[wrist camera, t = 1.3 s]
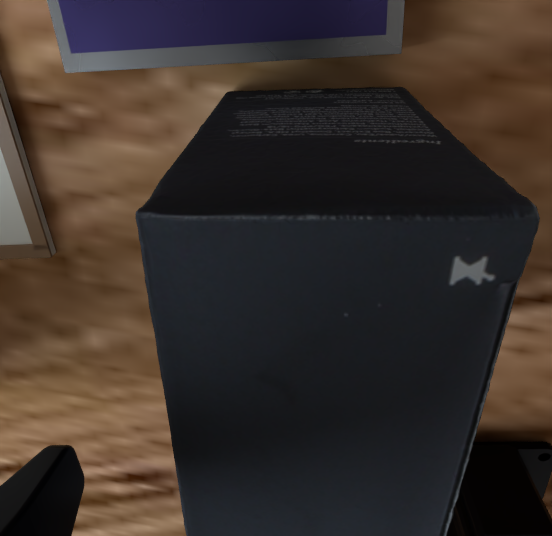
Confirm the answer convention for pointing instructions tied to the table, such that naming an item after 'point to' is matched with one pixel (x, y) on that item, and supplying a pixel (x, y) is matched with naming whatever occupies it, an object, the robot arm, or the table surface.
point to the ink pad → (220, 31)
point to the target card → (19, 196)
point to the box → (328, 311)
